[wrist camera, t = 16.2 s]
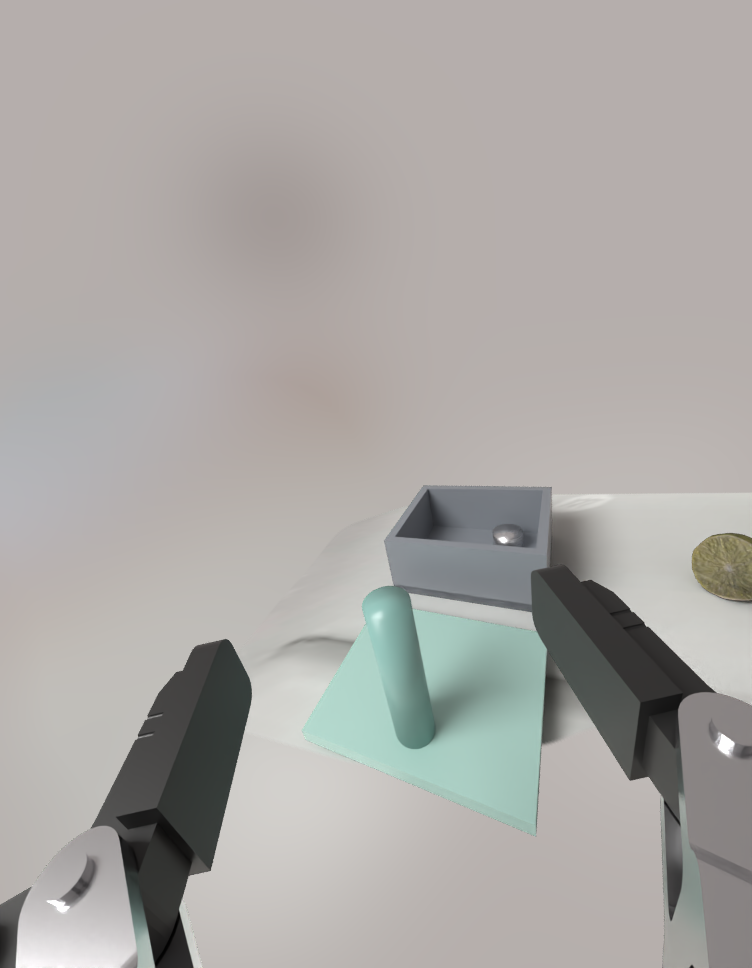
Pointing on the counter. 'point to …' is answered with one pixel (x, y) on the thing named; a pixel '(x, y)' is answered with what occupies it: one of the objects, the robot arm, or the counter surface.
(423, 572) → the tub
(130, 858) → the robot arm
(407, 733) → the lid
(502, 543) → the shiny rounded piece
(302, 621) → the counter surface
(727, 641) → the counter surface
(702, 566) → the lime
